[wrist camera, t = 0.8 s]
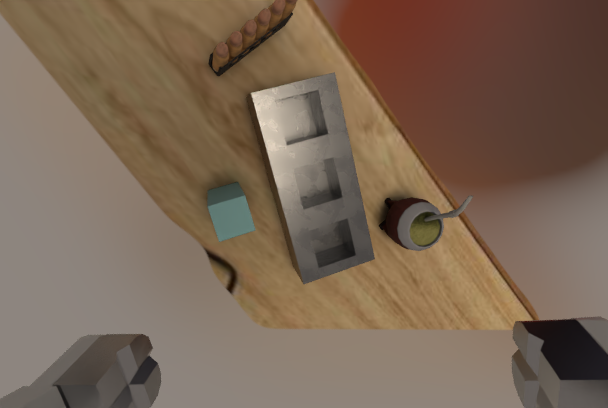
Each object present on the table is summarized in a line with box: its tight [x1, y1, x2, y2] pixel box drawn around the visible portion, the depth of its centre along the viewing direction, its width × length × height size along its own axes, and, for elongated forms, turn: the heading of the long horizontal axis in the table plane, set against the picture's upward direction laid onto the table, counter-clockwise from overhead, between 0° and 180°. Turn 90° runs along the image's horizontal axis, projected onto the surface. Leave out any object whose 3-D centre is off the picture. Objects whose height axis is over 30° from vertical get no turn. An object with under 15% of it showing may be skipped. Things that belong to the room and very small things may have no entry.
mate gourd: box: [379, 196, 473, 251], centre depth 48 cm, size 8×8×15 cm
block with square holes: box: [246, 72, 375, 284], centre depth 47 cm, size 24×10×6 cm, turn 14°
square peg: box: [208, 182, 255, 242], centre depth 44 cm, size 4×4×10 cm
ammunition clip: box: [209, 0, 297, 76], centre depth 39 cm, size 11×2×12 cm, turn 127°
